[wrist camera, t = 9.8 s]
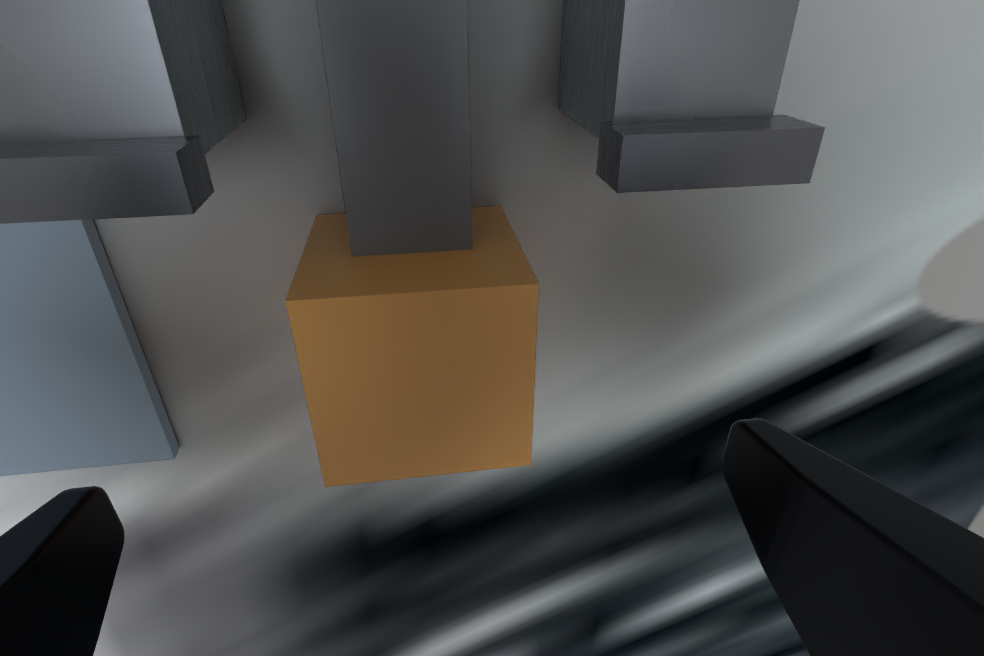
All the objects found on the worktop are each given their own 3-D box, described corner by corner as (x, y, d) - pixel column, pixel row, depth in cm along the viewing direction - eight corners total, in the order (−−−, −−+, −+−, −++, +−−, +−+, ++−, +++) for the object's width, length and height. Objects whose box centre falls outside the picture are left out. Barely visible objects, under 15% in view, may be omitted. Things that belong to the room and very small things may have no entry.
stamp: (226, -324, 8) (103, -553, 5) (502, -308, 9) (571, -504, 5) (348, 406, 15) (333, 529, 11) (499, 392, 15) (529, 507, 12)
